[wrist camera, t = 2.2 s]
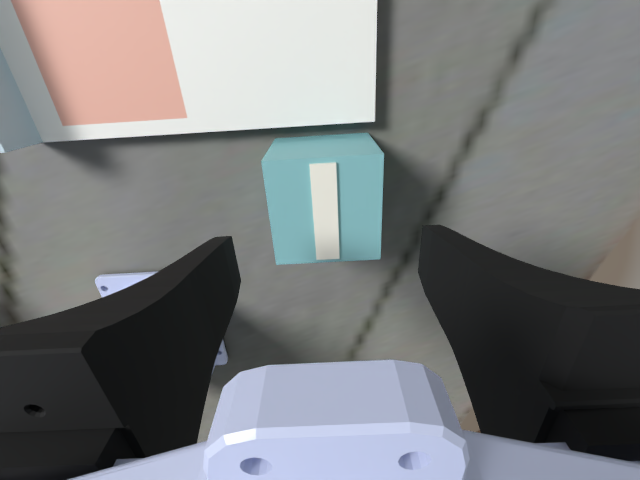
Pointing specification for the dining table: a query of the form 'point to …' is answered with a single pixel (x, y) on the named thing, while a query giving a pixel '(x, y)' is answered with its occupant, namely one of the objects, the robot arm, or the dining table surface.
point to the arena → (181, 67)
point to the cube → (324, 198)
